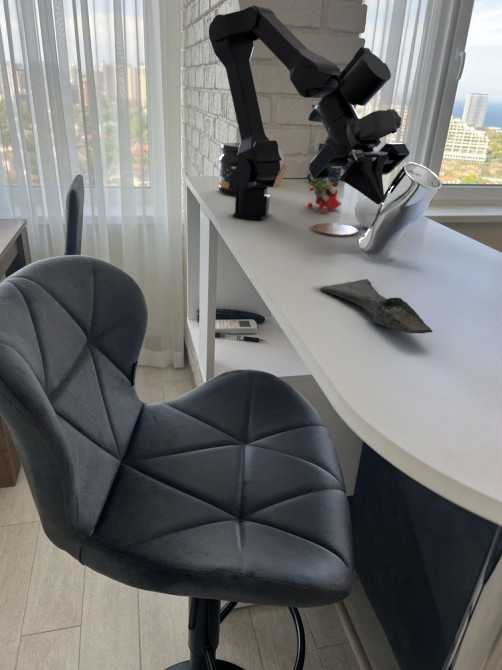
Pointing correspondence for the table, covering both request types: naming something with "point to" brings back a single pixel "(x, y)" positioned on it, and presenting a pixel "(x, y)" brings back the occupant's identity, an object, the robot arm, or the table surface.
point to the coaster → (335, 229)
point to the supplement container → (228, 167)
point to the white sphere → (365, 211)
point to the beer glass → (399, 209)
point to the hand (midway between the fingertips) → (381, 202)
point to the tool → (380, 306)
